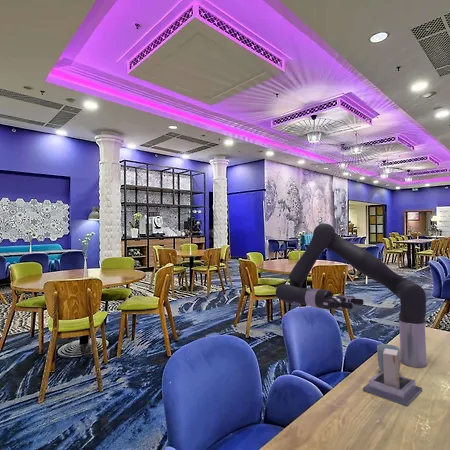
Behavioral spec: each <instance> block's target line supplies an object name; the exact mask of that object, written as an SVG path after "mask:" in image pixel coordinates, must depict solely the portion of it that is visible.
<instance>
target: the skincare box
mask: <svg viewBox="0 0 450 450" xmlns="http://www.w3.org/2000/svg"><path fill="white" fill-rule="evenodd" d="M383 366H384V384H386V385H389V386H392V387H395V388H398V389H399V387H400V381H399V376H400V371H399V359H398V350H393V349H387V348H385V349H384V352H383Z"/></svg>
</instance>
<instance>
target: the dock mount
mask: <svg viewBox="0 0 450 450" xmlns="http://www.w3.org/2000/svg"><path fill="white" fill-rule="evenodd" d="M399 381H400V387H399V389H398V388H395V387H392V386H389V385H386V384H384V371H380V372H378V373H377V374H375V376H373V377H372V378H370V379H369V380H368V383H367V384H366V385H365V386H363V387H362V392H366V393H368V394H370V395H371V394H372V395H374V396H376V397H379V398H382V399H386V400H388V401H391V402H394V403H397V404H400V405H402V406H405V407H408V406H410V404H411V403H413V401H414V400H415V399H416V398H417V397H418V396H419V395H420V394H421V393H422V392H423V387H421V386H417V385H416V380H415V379H412V378H408V377H405V376H401V375H399Z"/></svg>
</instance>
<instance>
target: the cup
mask: <svg viewBox="0 0 450 450" xmlns="http://www.w3.org/2000/svg"><path fill="white" fill-rule="evenodd" d="M376 348H377V349H376V350H377V351H376V353H377V356H376V357H377V363H378V365H377V366H378V369H379V371H380V372H381V371H384V366H383V352H384V349H385V348H387V349H393V350H398V359H399V372H400V371H401V354H400V347H399V346H397V345H393V344H387V343H386V344H385V343H381V344H380V343H379V344H378V345H377V347H376Z"/></svg>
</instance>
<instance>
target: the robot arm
mask: <svg viewBox="0 0 450 450" xmlns="http://www.w3.org/2000/svg"><path fill="white" fill-rule="evenodd" d="M325 249H328V250H330V251H331V252H333V253H335V254H336V255H337V256H339V257H340V258H341V259H342V260H343V261H344V262H346V263H347V264H348V265H349V266H350V267H352V268H354V269H355V270H357V272H359V273H361V274H362V275H364V276H366V277H367V278H369V279H371V280H372V281H375V282H376V283H379V284H380V285H383V286H384V287H385V288H386V289H388V290H389V291H390V292H392V293H393V294H394V296H396V297H397V298H398V299H399V300H400V311H399V314H398V322H399V323H398V326H399V349H400V363H402V364H403V365H406V366H409V367H412V368H425V367H426V366H427V365H428V362H427V344H426V340H427V339H426V324H425V323H426V322H425V321H426V320H425V319H426V316H427V295H426V292H425V290H424V288H423V287H422V286H421V285H419V284H418V283H415V282H414V281H411V280H409V279H407V278H405V277H403V276H401V275H400V274H398V273H396V272H395V271H393V270H392V269H391V268H390V267H389V266H388V265H387V264H386V263H384V262H383V261H382V260H381V259H379V258H378V257H377V256H375V255H374V254H372V253H371V252H369V251H368V250H366V249H365V248H362V247H361V246H358V245H357V244H354V243H352V242H350V241H347V240H346V239H345V238H343V237H342V236H340V235H339V234H338V233H337V232H336V230H335V228H334V227H333V225H331V224H329V223H320V224H318V225H317V226H315V228H314V230H313V232H312V237H311V240H310V242H309V244H308V246H307V247H306V249H305V250H304V252H303V254H302V255H301V256H300V257H299V259H298V260H297V262H296V263H295V265H294V266H293V268H292V270H290V273H289V274H288V279H289V281H290V283H289V284H285V283H284V284H279V285H278V286H277V287H276V288H275V292H274V293H275V296H276V298H277V299H278V300H280V301H282V302H284V303H286V304H294V303H296V304H298V305H301V306H302V305H303V306H309V307H312V308H317V309H322V310H327V311H328V310H331V309H334V310H338V309H346V310H347V309H348V310H353V309H354V306H353V305H357V306H363V305H364V299H362V298H356V297H355V296H354V295H345V294H344V295H343V294H340V295H339V294H337V295H336V294H335V295H334V294H333V292H332V290H328V289H327V290H326V289H319V288H307V287H303V285H304V282H305V281H306V279H307V277H308V276H309V274H310V272H312V270H313V267H314V265H315V264H316V262H317V260H318V259H319V257H320V256H321V255H322V253H323V252H324V251H325Z"/></svg>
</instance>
